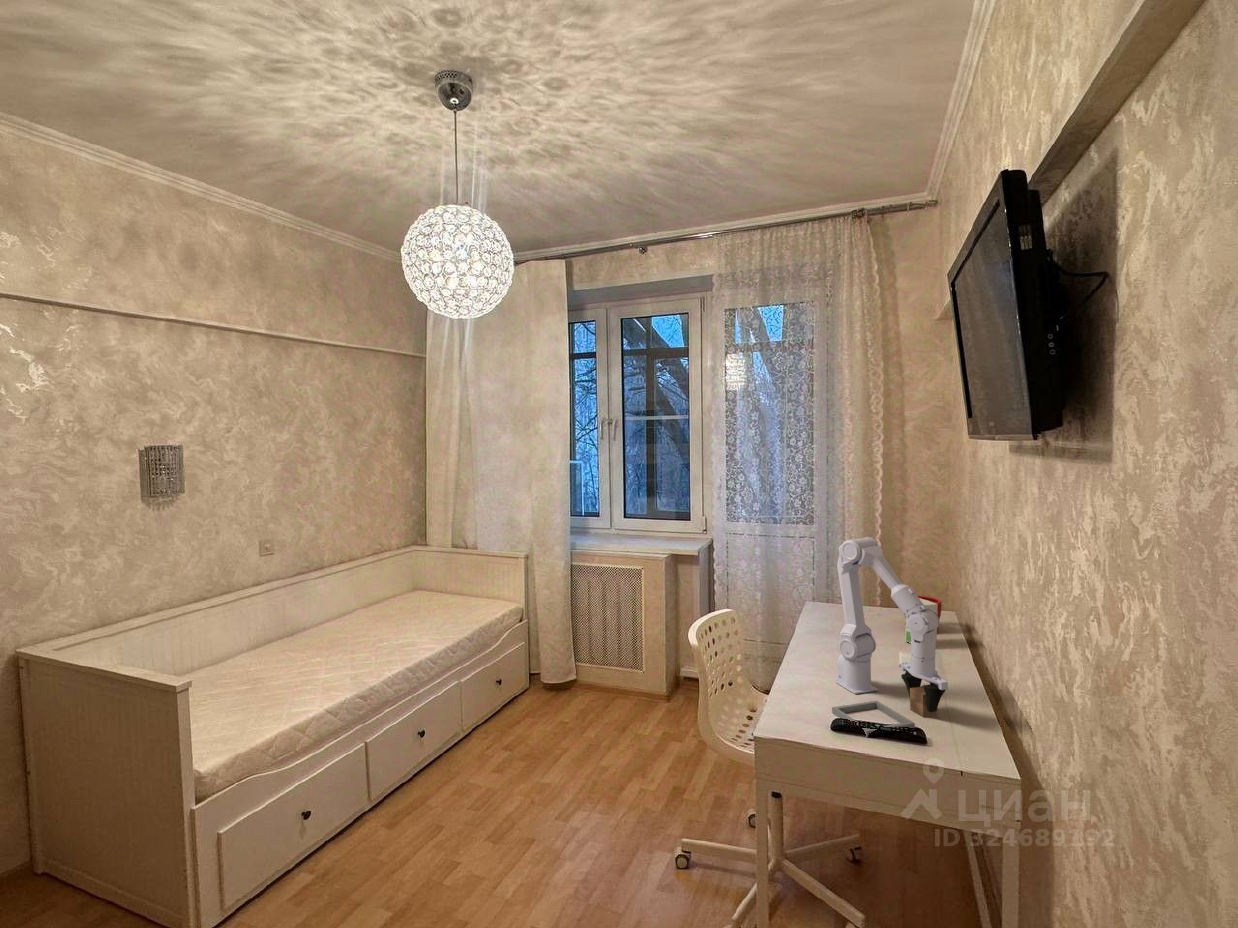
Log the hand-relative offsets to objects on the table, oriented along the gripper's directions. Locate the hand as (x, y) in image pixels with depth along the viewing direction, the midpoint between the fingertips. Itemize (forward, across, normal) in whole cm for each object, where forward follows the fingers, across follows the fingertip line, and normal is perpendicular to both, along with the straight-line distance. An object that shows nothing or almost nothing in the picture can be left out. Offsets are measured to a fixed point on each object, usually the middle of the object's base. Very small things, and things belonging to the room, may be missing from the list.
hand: (923, 706), depth 159 cm
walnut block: (+2, 0, 0) cm, 2 cm away
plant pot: (+2, +58, -52) cm, 78 cm away
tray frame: (+2, 0, +16) cm, 16 cm away
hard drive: (+2, +31, -24) cm, 39 cm away
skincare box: (+2, +44, -39) cm, 59 cm away
